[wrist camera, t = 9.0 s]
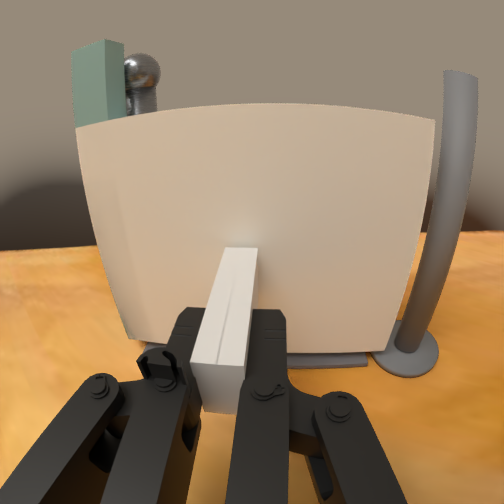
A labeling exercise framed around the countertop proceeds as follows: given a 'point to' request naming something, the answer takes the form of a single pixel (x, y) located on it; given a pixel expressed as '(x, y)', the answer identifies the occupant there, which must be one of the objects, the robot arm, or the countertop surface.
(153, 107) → the post
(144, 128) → the gate
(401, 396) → the countertop surface
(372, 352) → the sill
